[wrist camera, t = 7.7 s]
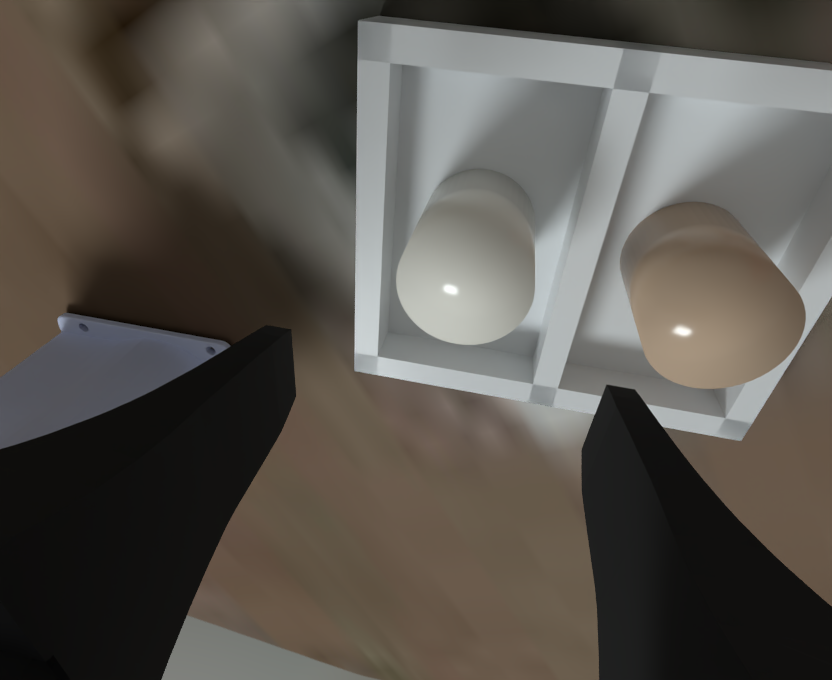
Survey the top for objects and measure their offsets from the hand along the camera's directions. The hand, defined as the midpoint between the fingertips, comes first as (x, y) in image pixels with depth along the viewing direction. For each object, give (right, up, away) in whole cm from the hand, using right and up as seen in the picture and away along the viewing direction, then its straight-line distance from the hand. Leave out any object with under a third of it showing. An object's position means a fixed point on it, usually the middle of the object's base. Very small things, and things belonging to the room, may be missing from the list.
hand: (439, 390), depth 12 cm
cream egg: (+2, +6, +8) cm, 10 cm away
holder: (+6, +5, +8) cm, 11 cm away
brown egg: (+9, +4, +7) cm, 12 cm away
